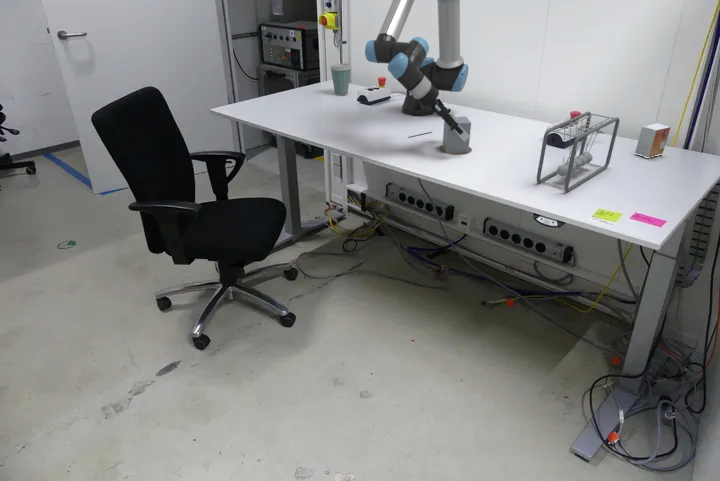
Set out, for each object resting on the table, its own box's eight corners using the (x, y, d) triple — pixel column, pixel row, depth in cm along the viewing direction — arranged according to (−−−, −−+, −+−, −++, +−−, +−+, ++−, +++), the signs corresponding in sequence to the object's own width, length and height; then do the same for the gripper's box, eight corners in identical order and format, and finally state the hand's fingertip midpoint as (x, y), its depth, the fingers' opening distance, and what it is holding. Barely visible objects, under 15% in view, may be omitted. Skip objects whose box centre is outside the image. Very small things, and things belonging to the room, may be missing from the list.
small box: (647, 159, 178) (656, 130, 173) (633, 154, 182) (641, 126, 177) (662, 155, 181) (671, 126, 176) (648, 150, 186) (656, 122, 180)
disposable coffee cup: (329, 96, 259) (327, 66, 252) (333, 91, 268) (332, 61, 261) (349, 97, 258) (348, 66, 250) (353, 91, 267) (352, 62, 259)
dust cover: (442, 145, 191) (444, 116, 186) (463, 145, 191) (466, 116, 186) (446, 153, 184) (448, 123, 179) (468, 152, 184) (471, 122, 179)
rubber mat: (431, 132, 207) (431, 131, 206) (450, 140, 198) (450, 139, 198) (407, 138, 201) (407, 137, 201) (426, 146, 192) (426, 145, 192)
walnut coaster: (456, 143, 195) (456, 141, 195) (478, 152, 186) (478, 150, 186) (432, 149, 190) (432, 147, 189) (453, 158, 181) (453, 157, 181)
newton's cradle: (565, 194, 154) (577, 137, 145) (534, 184, 161) (544, 129, 152) (608, 167, 172) (621, 116, 163) (578, 160, 179) (589, 109, 170)
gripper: (411, 91, 189) (448, 129, 197) (421, 109, 167) (462, 151, 175) (426, 76, 186) (463, 115, 194) (438, 92, 165) (479, 136, 173)
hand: (463, 132), depth 185 cm, fingers open, 13 cm apart
